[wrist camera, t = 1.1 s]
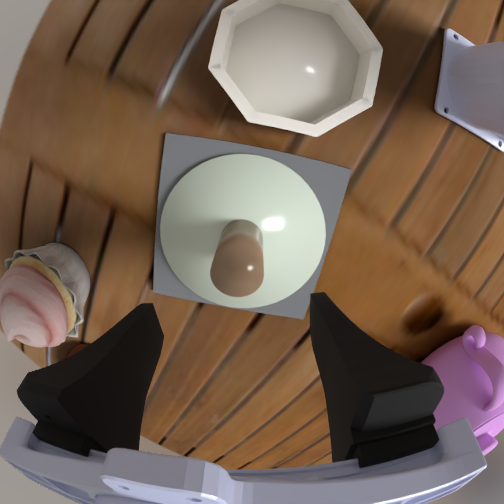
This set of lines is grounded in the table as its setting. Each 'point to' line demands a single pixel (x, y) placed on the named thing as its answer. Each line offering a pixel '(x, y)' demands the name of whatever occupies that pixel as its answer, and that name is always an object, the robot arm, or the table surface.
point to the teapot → (472, 383)
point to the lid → (242, 230)
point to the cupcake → (43, 295)
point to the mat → (203, 149)
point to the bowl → (296, 62)
